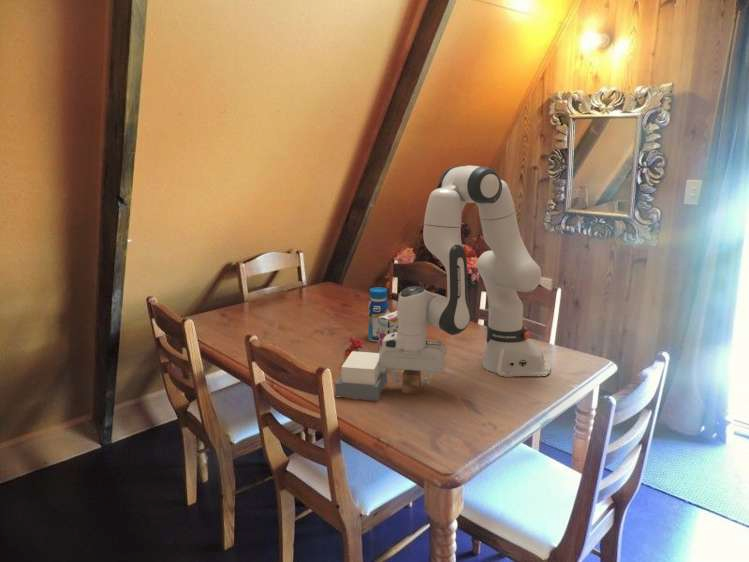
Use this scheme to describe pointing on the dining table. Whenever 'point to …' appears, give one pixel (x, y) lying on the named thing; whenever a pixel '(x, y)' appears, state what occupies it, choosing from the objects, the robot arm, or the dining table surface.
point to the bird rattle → (352, 347)
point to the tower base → (361, 388)
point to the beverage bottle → (376, 310)
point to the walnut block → (411, 381)
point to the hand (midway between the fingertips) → (411, 382)
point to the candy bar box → (386, 327)
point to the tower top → (361, 368)
